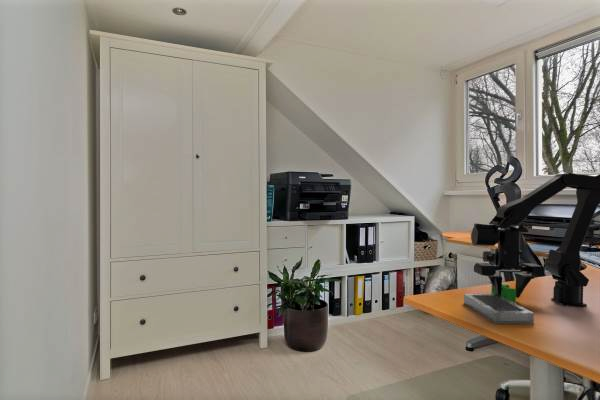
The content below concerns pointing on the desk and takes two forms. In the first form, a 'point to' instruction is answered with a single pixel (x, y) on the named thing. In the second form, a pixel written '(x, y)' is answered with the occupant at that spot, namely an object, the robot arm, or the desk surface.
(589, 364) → the desk surface
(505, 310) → the gray rectangular tray
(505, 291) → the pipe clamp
